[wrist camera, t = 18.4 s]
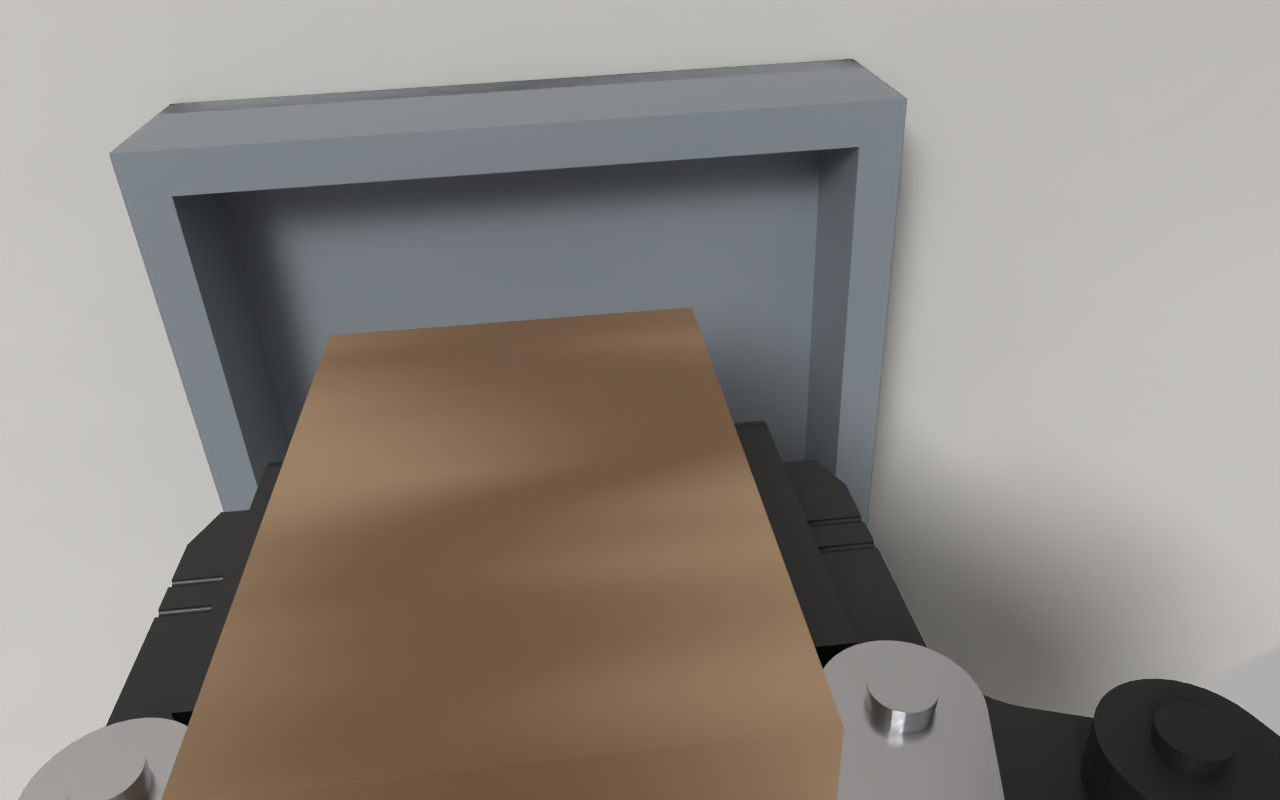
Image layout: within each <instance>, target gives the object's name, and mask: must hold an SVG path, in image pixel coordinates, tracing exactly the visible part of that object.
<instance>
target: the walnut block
mask: <svg viewBox="0 0 1280 800" xmlns="http://www.w3.org/2000/svg"><path fill="white" fill-rule="evenodd" d="M843 735H844V726H843V724H842V721H841V718H840V715H839V713H838V710H837V707H836V704H835V701H834V699H833V696H832V693H831V690H830V688H829V685H828V682H827V679H826V677H825V674H824V671H823V668H822V666H821V663H820V660H819V657H818V655H817V652H816V649H815V646H814V644H813V641H812V638H811V635H810V632H809V630H808V627H807V624H806V621H805V619H804V616H803V613H802V610H801V608H800V605H799V602H798V599H797V597H796V594H795V591H794V588H793V586H792V583H791V580H790V577H789V575H788V572H787V569H786V566H785V563H784V561H783V558H782V555H781V552H780V550H779V547H778V544H777V541H776V539H775V536H774V533H773V530H772V528H771V525H770V522H769V519H768V517H767V514H766V511H765V508H764V506H763V503H762V500H761V497H760V494H759V492H758V489H757V486H756V483H755V481H754V478H753V475H752V472H751V470H750V467H749V464H748V461H747V459H746V456H745V453H744V450H743V448H742V445H741V442H740V439H739V437H738V434H737V431H736V428H735V425H734V423H733V420H732V417H731V414H730V412H729V409H728V406H727V403H726V401H725V398H724V395H723V392H722V390H721V387H720V384H719V381H718V379H717V376H716V373H715V370H714V368H713V365H712V362H711V359H710V356H709V354H708V351H707V348H706V345H705V343H704V340H703V337H702V334H701V332H700V329H699V326H698V323H697V321H696V318H695V315H694V312H693V310H692V307H690V308H677V309H664V310H651V311H638V312H625V313H612V314H599V315H587V316H574V317H561V318H548V319H535V320H522V321H509V322H496V323H483V324H470V325H457V326H444V327H431V328H418V329H405V330H392V331H379V332H366V333H353V334H341V335H329V337H328V340H327V343H326V346H325V348H324V351H323V354H322V357H321V359H320V362H319V365H318V368H317V371H316V373H315V376H314V379H313V382H312V384H311V387H310V390H309V393H308V395H307V398H306V401H305V404H304V406H303V409H302V412H301V415H300V417H299V420H298V423H297V426H296V429H295V431H294V434H293V437H292V440H291V442H290V445H289V448H288V451H287V453H286V456H285V459H284V462H283V464H282V467H281V470H280V473H279V475H278V478H277V481H276V484H275V486H274V489H273V492H272V495H271V498H270V500H269V503H268V506H267V509H266V511H265V514H264V517H263V520H262V522H261V525H260V528H259V531H258V533H257V536H256V539H255V542H254V544H253V547H252V550H251V553H250V556H249V558H248V561H247V564H246V567H245V569H244V572H243V575H242V578H241V580H240V583H239V586H238V589H237V591H236V594H235V597H234V600H233V602H232V605H231V608H230V611H229V613H228V616H227V619H226V622H225V625H224V627H223V630H222V633H221V636H220V638H219V641H218V644H217V647H216V649H215V652H214V655H213V658H212V660H211V663H210V666H209V669H208V671H207V674H206V677H205V680H204V683H203V685H202V688H201V691H200V694H199V696H198V699H197V702H196V705H195V707H194V710H193V713H192V716H191V718H190V721H189V724H188V727H187V729H186V732H185V735H184V738H183V740H182V743H181V746H180V749H179V752H178V754H177V757H176V760H175V763H174V765H173V768H172V771H171V774H170V776H169V779H168V782H167V785H166V787H165V790H164V793H163V796H162V798H161V800H837V793H838V783H839V774H840V764H841V754H842V745H843Z"/></svg>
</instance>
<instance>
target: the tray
mask: <svg viewBox="0 0 1280 800" xmlns="http://www.w3.org/2000/svg"><path fill="white" fill-rule="evenodd" d="M906 105H907V98H906V97H904V96H903V95H902V94H900V93H899V92H897V91H896V90H895V89H893V88H892V87H891V86H889V85H888V84H887V83H885V82H884V81H882V80H881V79H880V78H878V77H877V76H876V75H874V74H873V73H872V72H870V71H869V70H867V69H866V68H865V67H863V66H862V65H861V64H859V63H858V62H857V61H855V60H854V59H844V60H829V61H814V62H799V63H784V64H769V65H753V66H738V67H723V68H708V69H693V70H678V71H663V72H648V73H632V74H617V75H602V76H587V77H572V78H557V79H542V80H527V81H511V82H496V83H481V84H466V85H451V86H436V87H421V88H406V89H390V90H375V91H360V92H345V93H330V94H315V95H300V96H285V97H269V98H254V99H239V100H224V101H209V102H194V103H179V104H170V105H169V106H168V107H166V108H165V109H164V110H163V111H161V112H160V113H159V114H158V115H156V116H155V117H154V118H153V119H151V120H150V121H149V122H148V123H146V124H145V125H144V126H143V127H141V128H140V129H139V130H138V131H136V132H135V133H134V134H133V135H131V136H130V137H129V138H128V139H127V140H125V141H124V142H123V143H122V144H120V145H119V146H118V147H117V148H115V149H114V150H113V151H112V152H110V153H109V155H110V158H111V161H112V165H113V168H114V171H115V174H116V177H117V180H118V183H119V186H120V189H121V193H122V196H123V199H124V202H125V205H126V208H127V211H128V214H129V218H130V221H131V224H132V227H133V230H134V233H135V236H136V239H137V242H138V246H139V249H140V252H141V255H142V258H143V261H144V264H145V267H146V270H147V274H148V277H149V280H150V283H151V286H152V289H153V292H154V295H155V299H156V302H157V305H158V308H159V311H160V314H161V317H162V320H163V323H164V327H165V330H166V333H167V336H168V339H169V342H170V345H171V348H172V352H173V355H174V358H175V361H176V364H177V367H178V370H179V373H180V376H181V380H182V383H183V386H184V389H185V392H186V395H187V398H188V401H189V404H190V408H191V411H192V414H193V417H194V420H195V423H196V426H197V429H198V433H199V436H200V439H201V442H202V445H203V448H204V451H205V454H206V457H207V461H208V464H209V467H210V470H211V473H212V476H213V479H214V482H215V485H216V489H217V492H218V495H219V498H220V501H221V504H222V507H223V510H224V512H231V511H242V510H249V509H250V506H251V504H252V501H253V498H254V496H255V493H256V491H257V488H258V485H259V483H260V480H261V478H262V475H263V472H264V470H265V468H266V466H267V465H268V464H269V463H271V462H281V461H284V459H285V456H286V453H287V451H288V448H289V445H290V442H291V440H292V437H293V434H294V431H295V429H296V426H297V423H298V420H299V417H300V415H301V412H302V409H303V406H304V404H305V401H306V398H307V395H308V393H309V390H310V387H311V384H312V382H313V379H314V376H315V373H316V371H317V368H318V365H319V362H320V359H321V357H322V354H323V351H324V348H325V346H326V343H327V340H328V337H329V335H341V334H353V333H366V332H379V331H392V330H405V329H418V328H431V327H444V326H457V325H470V324H483V323H496V322H509V321H522V320H535V319H548V318H561V317H574V316H587V315H599V314H612V313H625V312H638V311H651V310H664V309H677V308H690V307H692V310H693V312H694V315H695V318H696V321H697V323H698V326H699V329H700V332H701V334H702V337H703V340H704V343H705V345H706V348H707V351H708V354H709V356H710V359H711V362H712V365H713V368H714V370H715V373H716V376H717V379H718V381H719V384H720V387H721V390H722V392H723V395H724V398H725V401H726V403H727V406H728V409H729V412H730V414H731V417H732V420H733V423H739V422H750V421H762V420H763V421H765V423H766V424H767V426H768V428H769V431H770V433H771V436H772V438H773V440H774V443H775V445H776V448H777V450H778V452H779V455H780V457H781V460H782V462H794V461H805V460H816V461H817V462H818V463H819V464H821V465H822V466H823V467H824V468H826V469H827V470H828V471H829V472H831V473H832V474H833V475H834V476H836V477H837V478H838V479H839V480H841V481H842V482H843V483H844V484H846V486H847V488H848V490H849V492H850V494H851V496H852V498H853V500H854V502H855V504H856V506H857V508H858V510H859V512H860V514H861V520H862V522H865V524H866V526H867V519H868V508H869V497H870V487H871V476H872V466H873V455H874V444H875V434H876V423H877V412H878V402H879V391H880V381H881V370H882V359H883V349H884V338H885V328H886V317H887V306H888V296H889V285H890V275H891V264H892V253H893V243H894V232H895V221H896V211H897V200H898V190H899V179H900V168H901V158H902V147H903V137H904V126H905V115H906Z"/></svg>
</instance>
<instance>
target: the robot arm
mask: <svg viewBox="0 0 1280 800" xmlns="http://www.w3.org/2000/svg"><path fill="white" fill-rule="evenodd" d="M734 425H735V428H736V431H737V434H738V437H739V439H740V442H741V445H742V448H743V450H744V453H745V456H746V459H747V461H748V464H749V467H750V470H751V472H752V475H753V478H754V481H755V483H756V486H757V489H758V492H759V494H760V497H761V500H762V503H763V506H764V508H765V511H766V514H767V517H768V519H769V522H770V525H771V528H772V530H773V533H774V536H775V539H776V541H777V544H778V547H779V550H780V552H781V555H782V558H783V561H784V563H785V566H786V569H787V572H788V575H789V577H790V580H791V583H792V586H793V588H794V591H795V594H796V597H797V599H798V602H799V605H800V608H801V610H802V613H803V616H804V619H805V621H806V624H807V627H808V630H809V632H810V635H811V638H812V641H813V644H814V646H815V649H816V652H817V655H818V657H819V660H820V663H821V666H822V668H823V671H824V674H825V677H826V679H827V682H828V685H829V688H830V690H831V693H832V696H833V699H834V701H835V704H836V707H837V710H838V713H839V715H840V718H841V721H842V724H843V726H844V735H843V745H842V754H841V764H840V774H839V783H838V793H837V800H1280V736H1279V735H1277V734H1276V733H1275V732H1273V731H1272V730H1271V729H1269V728H1268V727H1267V726H1265V725H1264V724H1263V723H1262V722H1260V721H1259V720H1258V719H1256V718H1255V717H1254V716H1253V715H1251V714H1250V713H1248V712H1247V711H1246V710H1244V709H1243V708H1241V707H1240V706H1238V705H1237V704H1235V703H1233V702H1231V701H1229V700H1228V699H1226V698H1224V697H1222V696H1220V695H1218V694H1216V693H1213V692H1211V691H1209V690H1206V689H1204V688H1200V687H1198V686H1195V685H1191V684H1188V683H1183V682H1178V681H1174V680H1164V679H1141V680H1135V681H1130V682H1127V683H1124V684H1121V685H1119V686H1117V687H1115V688H1114V689H1112V690H1110V691H1109V692H1108V693H1107V694H1106V695H1105V696H1104V697H1103V698H1102V699H1101V701H1100V702H1099V704H1098V706H1097V708H1096V711H1095V715H1094V718H1090V717H1083V716H1077V715H1070V714H1064V713H1057V712H1051V711H1044V710H1038V709H1031V708H1025V707H1020V706H1016V705H1011V704H1007V703H1004V702H1001V701H998V700H994V699H992V698H990V697H987V696H985V695H983V694H982V692H981V690H980V688H979V687H978V685H977V684H976V683H975V681H974V680H973V679H972V677H971V676H970V675H969V674H968V673H967V672H966V671H965V670H964V669H962V668H961V667H960V666H959V665H958V664H956V663H955V662H953V661H952V660H951V659H949V658H947V657H946V656H944V655H942V654H940V653H938V652H936V651H934V650H931V649H928V648H927V647H926V645H925V643H924V641H923V639H922V637H921V635H920V633H919V631H918V629H917V627H916V625H915V623H914V621H913V619H912V617H911V615H910V613H909V611H908V609H907V607H906V605H905V603H904V601H903V599H902V597H901V595H900V593H899V591H898V589H897V587H896V585H895V583H894V581H893V579H892V577H891V575H890V573H889V571H888V569H887V567H886V564H885V562H884V560H883V558H882V556H881V554H880V552H879V550H878V548H875V547H874V540H873V538H872V536H871V534H870V532H869V530H868V528H867V526H866V524H865V522H862V520H861V514H860V512H859V510H858V508H857V506H856V504H855V502H854V500H853V498H852V496H851V494H850V492H849V490H848V488H847V486H846V484H844V483H843V482H842V481H841V480H839V479H838V478H837V477H836V476H834V475H833V474H832V473H831V472H829V471H828V470H827V469H826V468H824V467H823V466H822V465H821V464H819V463H818V462H817V461H816V460H805V461H794V462H782V460H781V457H780V455H779V452H778V450H777V448H776V445H775V443H774V440H773V438H772V436H771V433H770V431H769V428H768V426H767V424H766V423H765V421H763V420H762V421H750V422H739V423H734ZM283 462H284V461H281V462H271V463H269V464H268V465H267V466H266V468H265V470H264V472H263V475H262V478H261V480H260V483H259V485H258V488H257V491H256V493H255V496H254V498H253V501H252V504H251V506H250V509H249V510H242V511H231V512H221V513H220V514H219V515H218V516H217V517H216V518H215V519H214V520H213V521H212V522H211V523H210V524H209V525H208V526H207V527H206V528H205V529H204V530H202V531H201V532H200V533H199V534H198V535H197V536H196V537H195V538H194V539H193V540H192V541H191V542H190V543H189V544H188V545H187V547H186V550H185V552H184V554H183V556H182V558H181V561H180V563H179V565H178V567H177V570H176V572H175V574H174V576H173V578H172V587H168V590H167V592H166V594H165V596H164V598H163V601H162V603H161V605H160V607H159V610H158V611H159V617H156V618H154V621H153V623H152V625H151V627H150V630H149V632H148V634H147V636H146V638H145V641H144V643H143V645H142V647H141V650H140V652H139V654H138V656H137V658H136V661H135V663H134V665H133V667H132V670H131V672H130V674H129V676H128V678H127V681H126V683H125V685H124V687H123V690H122V692H121V694H120V696H119V698H118V701H117V703H116V705H115V707H114V709H113V712H112V714H111V716H110V718H109V721H108V723H107V725H106V727H103V728H101V729H98V730H96V731H94V732H92V733H90V734H87V735H85V736H84V737H82V738H80V739H78V740H77V741H75V742H73V743H71V744H70V745H68V746H67V747H66V748H64V749H63V750H61V751H60V752H59V753H57V754H56V755H55V756H54V757H53V758H51V759H50V760H49V761H48V762H47V763H46V764H45V765H43V767H42V768H41V769H40V770H39V771H38V772H37V773H36V774H35V775H34V776H33V777H32V779H31V780H30V782H29V783H28V784H27V786H26V787H25V789H24V790H23V792H22V794H21V796H20V798H19V800H161V798H162V796H163V793H164V790H165V787H166V785H167V782H168V779H169V776H170V774H171V771H172V768H173V765H174V763H175V760H176V757H177V754H178V752H179V749H180V746H181V743H182V740H183V738H184V735H185V732H186V729H187V727H188V724H189V721H190V718H191V716H192V713H193V710H194V707H195V705H196V702H197V699H198V696H199V694H200V691H201V688H202V685H203V683H204V680H205V677H206V674H207V671H208V669H209V666H210V663H211V660H212V658H213V655H214V652H215V649H216V647H217V644H218V641H219V638H220V636H221V633H222V630H223V627H224V625H225V622H226V619H227V616H228V613H229V611H230V608H231V605H232V602H233V600H234V597H235V594H236V591H237V589H238V586H239V583H240V580H241V578H242V575H243V572H244V569H245V567H246V564H247V561H248V558H249V556H250V553H251V550H252V547H253V544H254V542H255V539H256V536H257V533H258V531H259V528H260V525H261V522H262V520H263V517H264V514H265V511H266V509H267V506H268V503H269V500H270V498H271V495H272V492H273V489H274V486H275V484H276V481H277V478H278V475H279V473H280V470H281V467H282V464H283Z"/></svg>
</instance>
